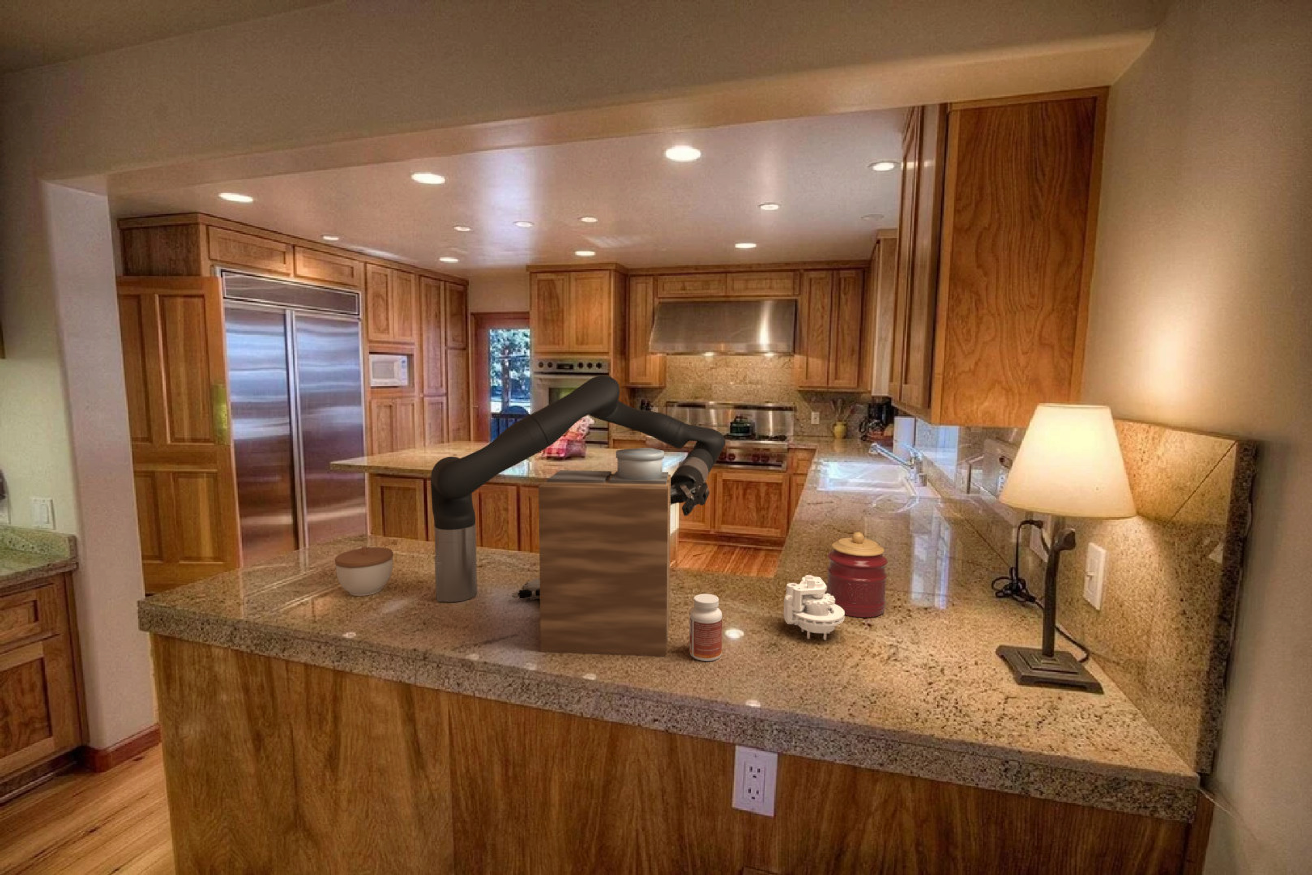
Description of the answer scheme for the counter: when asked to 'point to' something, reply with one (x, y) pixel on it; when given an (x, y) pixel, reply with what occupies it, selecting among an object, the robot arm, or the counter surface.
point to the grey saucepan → (639, 463)
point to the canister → (857, 576)
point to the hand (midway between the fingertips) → (666, 514)
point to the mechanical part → (811, 606)
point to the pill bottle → (705, 628)
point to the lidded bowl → (364, 570)
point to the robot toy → (529, 590)
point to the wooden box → (604, 563)
